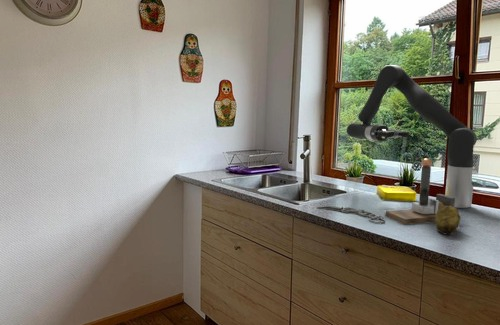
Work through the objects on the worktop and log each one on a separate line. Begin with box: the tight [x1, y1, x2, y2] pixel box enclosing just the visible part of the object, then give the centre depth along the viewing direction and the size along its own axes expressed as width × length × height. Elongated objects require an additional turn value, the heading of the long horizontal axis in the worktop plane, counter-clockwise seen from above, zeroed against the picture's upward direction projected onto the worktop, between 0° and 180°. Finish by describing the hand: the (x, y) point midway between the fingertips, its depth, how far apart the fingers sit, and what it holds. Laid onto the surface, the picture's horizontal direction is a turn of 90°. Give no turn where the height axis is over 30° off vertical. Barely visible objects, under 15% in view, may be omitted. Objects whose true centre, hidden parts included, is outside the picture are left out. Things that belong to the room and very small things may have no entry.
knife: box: [316, 205, 386, 225], centre depth 140 cm, size 28×2×10 cm
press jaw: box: [411, 158, 439, 214], centre depth 134 cm, size 6×7×20 cm
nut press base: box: [384, 193, 455, 225], centre depth 135 cm, size 23×11×8 cm, turn 105°
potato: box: [434, 205, 461, 236], centre depth 121 cm, size 8×13×8 cm, turn 135°
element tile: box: [376, 184, 417, 202], centre depth 170 cm, size 15×15×5 cm
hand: (399, 134), depth 153 cm, fingers open, 8 cm apart
